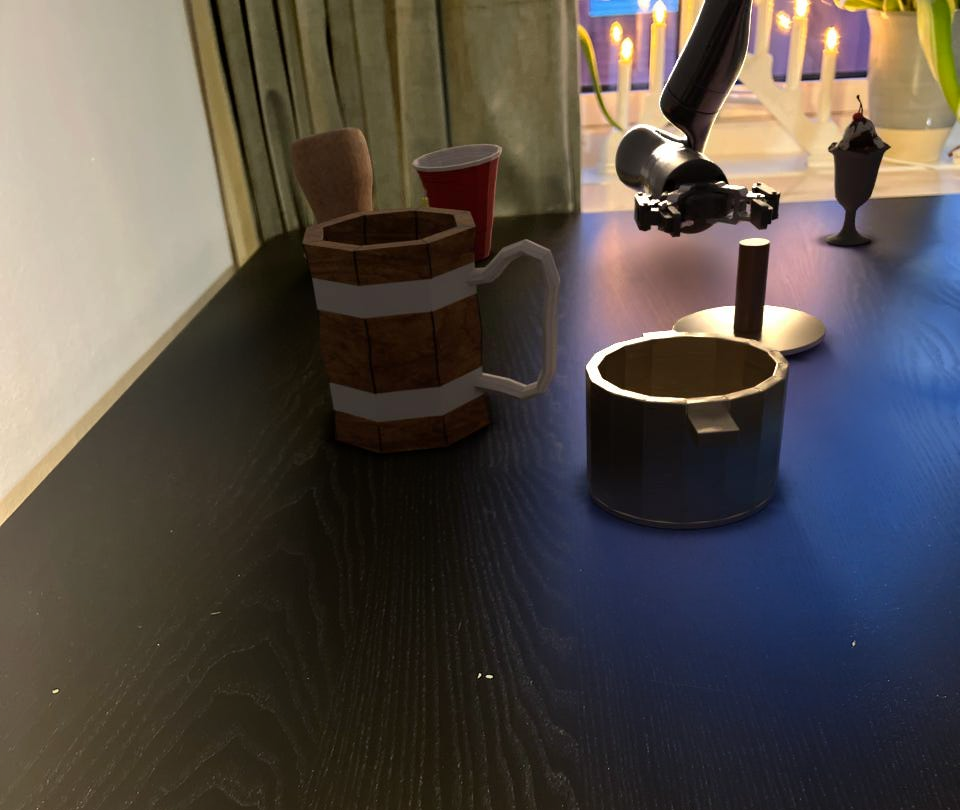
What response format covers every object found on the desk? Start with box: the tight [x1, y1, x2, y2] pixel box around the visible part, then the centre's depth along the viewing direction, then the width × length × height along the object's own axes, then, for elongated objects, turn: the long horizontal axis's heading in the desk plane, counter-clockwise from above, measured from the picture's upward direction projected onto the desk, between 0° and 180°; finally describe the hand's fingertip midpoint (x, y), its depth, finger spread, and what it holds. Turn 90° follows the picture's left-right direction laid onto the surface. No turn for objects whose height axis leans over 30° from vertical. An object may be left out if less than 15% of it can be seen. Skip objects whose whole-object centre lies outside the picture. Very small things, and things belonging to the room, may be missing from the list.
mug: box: [301, 205, 561, 454], centre depth 76 cm, size 20×14×15 cm
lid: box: [671, 237, 827, 357], centre depth 88 cm, size 14×14×9 cm
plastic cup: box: [411, 143, 503, 262], centre depth 119 cm, size 11×11×12 cm
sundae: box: [824, 94, 892, 247], centre depth 111 cm, size 7×7×15 cm
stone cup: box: [289, 127, 374, 260], centre depth 123 cm, size 15×12×15 cm
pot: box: [584, 330, 790, 530], centre depth 65 cm, size 13×18×8 cm
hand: (721, 222), depth 96 cm, fingers open, 8 cm apart
